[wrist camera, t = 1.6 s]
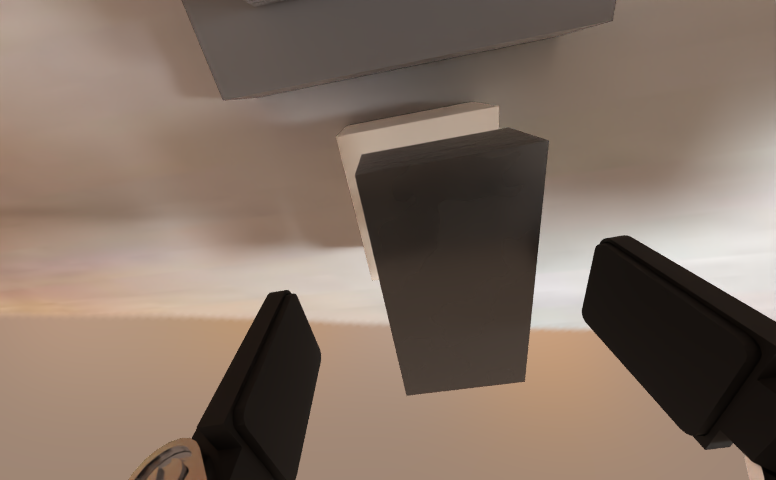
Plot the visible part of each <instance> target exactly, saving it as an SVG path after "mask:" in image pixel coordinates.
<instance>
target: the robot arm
mask: <svg viewBox="0 0 776 480" xmlns="http://www.w3.org/2000/svg"><path fill="white" fill-rule="evenodd" d="M582 316H583V318H584V320H585V322H586V323H587V324H588V325H589V327H590V328H591V329H592V330H593V331H594V332H595V333H596V334H597V336H598V337H599V338H600V339H601V340H602V341H603V342H604V343H605V345H606V346H607V347H608V348H609V349H610V350H611V351H612V352H613V354H614V355H615V356H616V357H617V358H618V359H619V360H620V361H621V363H622V364H623V365H624V366H625V367H626V368H627V369H628V370H629V372H630V373H631V374H632V375H633V376H634V377H635V378H636V379H637V381H638V382H639V383H640V384H641V385H642V386H643V387H644V388H645V390H646V391H647V392H648V393H649V394H650V395H651V396H652V397H653V398H654V400H655V401H656V402H657V403H658V404H659V405H660V406H661V408H662V409H663V410H664V411H665V412H666V413H667V414H668V415H669V417H670V418H671V419H672V420H673V421H674V422H675V423H676V424H677V426H678V427H679V428H680V429H681V430H682V431H684V432H685V433H686V434H689V435H691V436H693V437H694V438H695V439H696V440H697V441H698V442H699V443H700V445H701V446H702V447H703V448H704V449H705V450H707V449H716V448H725V447H730V446H731V445H732V444H733V443H734V444H735V445H736V446H737V447H738V448H739V449H740V450H741V451H742V452H743V453H744V457H745V462H746V467H747V471H748V476H749V480H776V322H775V321H774V320H772V319H770V318H768V317H767V316H765V315H763V314H762V313H760V312H758V311H756V310H755V309H753V308H751V307H750V306H748V305H746V304H745V303H743V302H741V301H739V300H738V299H736V298H734V297H733V296H731V295H729V294H727V293H726V292H724V291H722V290H721V289H719V288H717V287H716V286H714V285H712V284H710V283H709V282H707V281H705V280H704V279H702V278H700V277H698V276H697V275H695V274H693V273H692V272H690V271H688V270H687V269H685V268H683V267H681V266H680V265H678V264H676V263H675V262H673V261H671V260H669V259H668V258H666V257H664V256H663V255H661V254H659V253H658V252H656V251H654V250H652V249H651V248H649V247H647V246H646V245H644V244H642V243H640V242H639V241H637V240H635V239H634V238H632V237H630V236H625V235H624V236H617V237H611V238H605V239H603V240H602V241H601V242H600V244H599V245H597V246H596V248H595V252H594V256H593V261H592V266H591V270H590V275H589V280H588V284H587V289H586V294H585V298H584V303H583V308H582ZM320 362H321V352H320V349H319V346H318V344H317V342H316V339H315V337H314V335H313V332H312V330H311V327H310V325H309V323H308V320H307V318H306V316H305V313H304V311H303V309H302V306H301V304H300V302H299V299H298V297H297V295H296V294H291V292H290V291H289V290H284V291H278V292H272V293H269V294H268V295H267V297H266V299H265V301H264V303H263V304H262V306H261V308H260V310H259V312H258V314H257V316H256V318H255V319H254V321H253V323H252V325H251V327H250V329H249V331H248V332H247V335H246V336H245V338H244V340H243V342H242V344H241V346H240V347H239V349H238V351H237V353H236V355H235V357H234V359H233V360H232V362H231V364H230V366H229V368H228V370H227V372H226V374H225V376H224V378H223V379H222V381H221V383H220V385H219V387H218V389H217V390H216V392H215V394H214V396H213V398H212V400H211V402H210V403H209V406H208V407H207V409H206V411H205V413H204V415H203V417H202V418H201V420H200V422H199V424H198V426H197V429H196V431H195V433H194V435H193V437H192V439H191V438H180V439H177V440H174V441H171V442H169V443H167V444H166V445H164V446H162V447H161V448H159V449H157V450H156V451H155V452H154V453H152V454H151V455H150V456H149V457H148V458H146V459H145V460H144V461H143V462H142V464H141V465H140V466H139V467H138V468H137V469H136V470H135V471H134V472H133V474H132V475H131V477H130V478H129V480H295V479H296V476H297V472H298V467H299V462H300V457H301V452H302V448H303V443H304V438H305V434H306V429H307V424H308V419H309V415H310V409H311V405H312V400H313V396H314V391H315V386H316V381H317V376H318V371H319V367H320Z"/></svg>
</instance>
